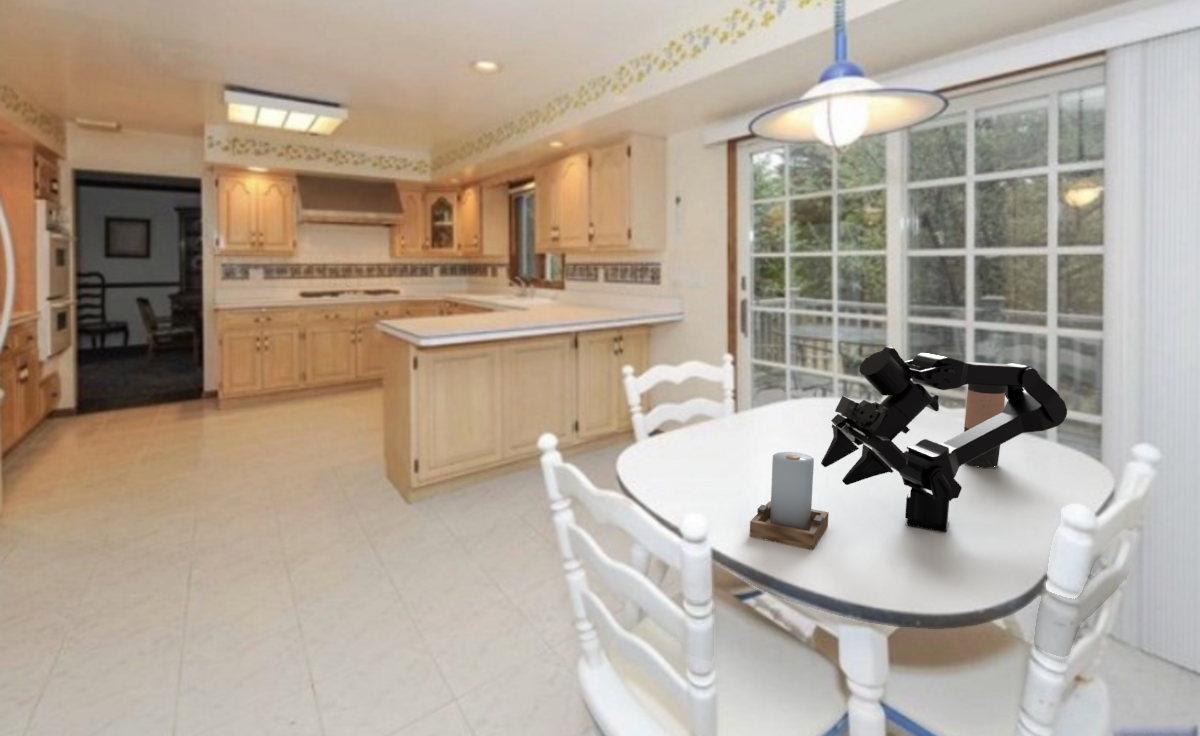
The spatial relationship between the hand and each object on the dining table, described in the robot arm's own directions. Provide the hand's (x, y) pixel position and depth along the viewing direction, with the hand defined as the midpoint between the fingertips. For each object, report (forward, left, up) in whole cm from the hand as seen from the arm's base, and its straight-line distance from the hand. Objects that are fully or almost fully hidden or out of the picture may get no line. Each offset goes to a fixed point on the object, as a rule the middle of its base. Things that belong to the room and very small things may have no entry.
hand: (833, 473), depth 116 cm
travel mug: (-22, -55, -11) cm, 61 cm away
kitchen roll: (+6, +4, -10) cm, 12 cm away
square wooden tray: (+6, +5, -11) cm, 13 cm away
